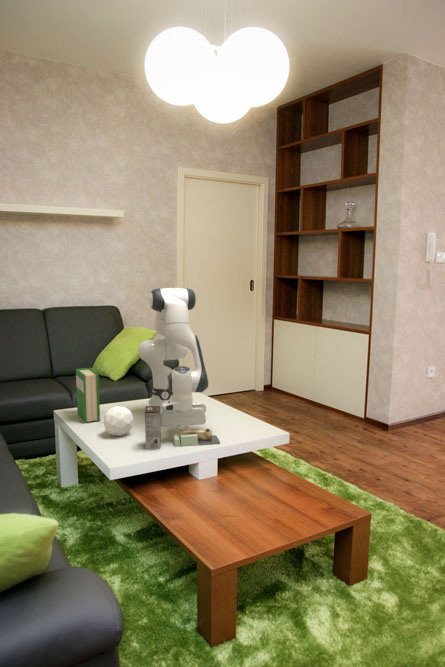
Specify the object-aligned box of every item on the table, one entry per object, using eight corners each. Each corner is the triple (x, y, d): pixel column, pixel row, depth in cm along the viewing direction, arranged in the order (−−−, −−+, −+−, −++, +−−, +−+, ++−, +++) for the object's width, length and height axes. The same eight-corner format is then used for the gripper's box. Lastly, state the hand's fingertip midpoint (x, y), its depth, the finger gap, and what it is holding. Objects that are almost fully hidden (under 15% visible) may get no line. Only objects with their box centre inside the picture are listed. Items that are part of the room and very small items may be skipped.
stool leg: (212, 437, 231) (212, 428, 230) (211, 439, 227) (211, 430, 227) (180, 436, 231) (180, 428, 231) (179, 439, 227) (179, 430, 227)
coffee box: (146, 442, 228) (145, 405, 226) (161, 441, 229) (160, 405, 227) (145, 449, 219) (144, 411, 217) (160, 448, 220) (160, 411, 218)
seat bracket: (173, 441, 228) (173, 432, 228) (195, 440, 230) (195, 431, 230) (174, 446, 222) (174, 437, 222) (197, 445, 224) (197, 436, 224)
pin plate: (196, 438, 233) (196, 436, 233) (216, 437, 234) (216, 435, 234) (199, 445, 224) (198, 442, 224) (219, 443, 226) (219, 441, 226)
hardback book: (100, 421, 259) (98, 373, 256) (84, 423, 256) (83, 375, 253) (91, 413, 275) (90, 367, 272) (77, 414, 272) (75, 368, 269)
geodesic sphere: (99, 418, 245) (101, 399, 236) (128, 414, 250) (132, 396, 241) (104, 443, 236) (106, 424, 227) (134, 439, 241) (138, 421, 232)
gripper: (204, 401, 235) (205, 431, 237) (158, 403, 231) (159, 434, 233) (207, 404, 229) (207, 435, 231) (159, 407, 225) (160, 438, 227)
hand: (182, 434), depth 232 cm, fingers closed
